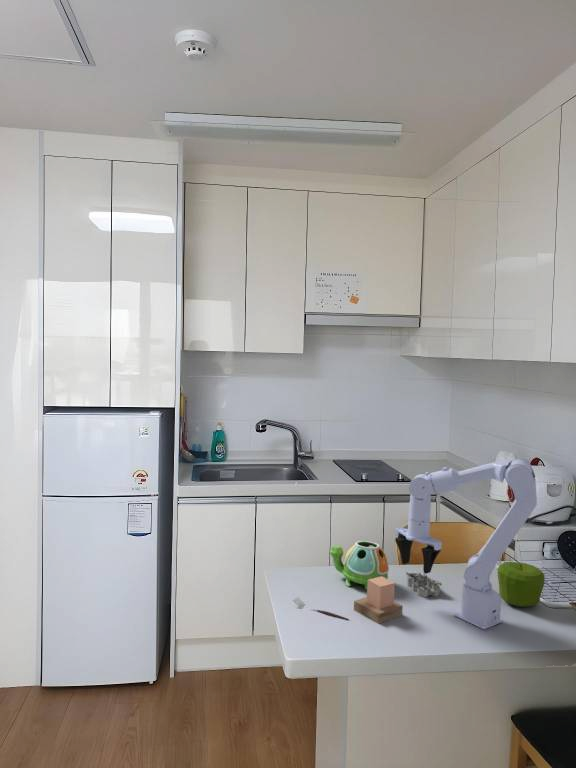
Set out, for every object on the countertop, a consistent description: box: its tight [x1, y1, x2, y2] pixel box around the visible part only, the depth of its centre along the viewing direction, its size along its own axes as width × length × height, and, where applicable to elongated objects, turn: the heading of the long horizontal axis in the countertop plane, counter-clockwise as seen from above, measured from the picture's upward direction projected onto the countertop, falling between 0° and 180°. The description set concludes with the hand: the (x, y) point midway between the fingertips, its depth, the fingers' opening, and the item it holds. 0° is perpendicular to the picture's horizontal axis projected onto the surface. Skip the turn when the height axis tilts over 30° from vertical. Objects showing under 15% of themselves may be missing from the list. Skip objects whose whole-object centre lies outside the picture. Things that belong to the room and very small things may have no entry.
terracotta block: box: [366, 576, 396, 609], centre depth 155 cm, size 5×5×6 cm
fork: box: [292, 596, 350, 621], centre depth 154 cm, size 3×16×2 cm, turn 60°
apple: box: [497, 561, 545, 608], centre depth 165 cm, size 12×12×11 cm
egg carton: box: [405, 571, 443, 598], centre depth 172 cm, size 11×8×4 cm
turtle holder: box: [329, 540, 389, 591], centre depth 175 cm, size 12×18×12 cm
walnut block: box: [353, 596, 404, 624], centre depth 155 cm, size 9×9×3 cm
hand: (416, 567), depth 160 cm, fingers open, 7 cm apart
